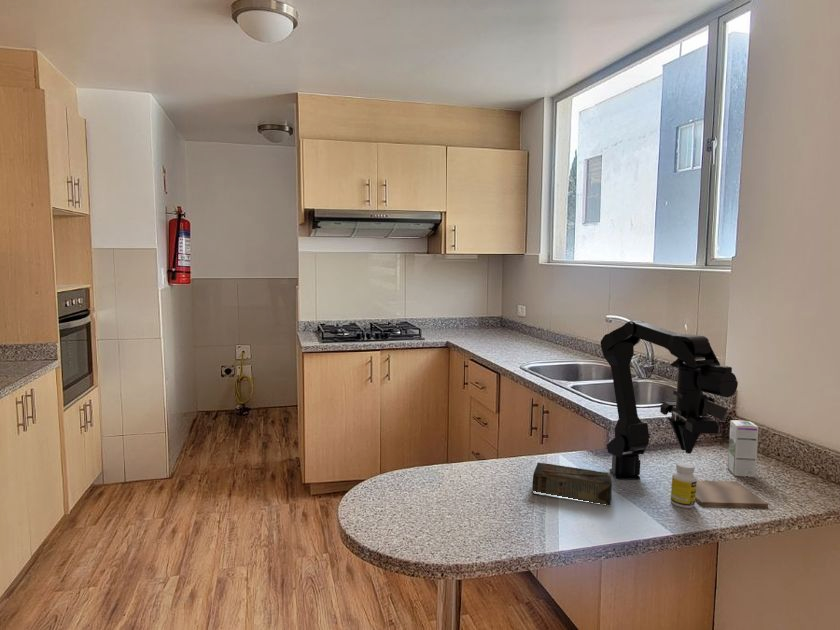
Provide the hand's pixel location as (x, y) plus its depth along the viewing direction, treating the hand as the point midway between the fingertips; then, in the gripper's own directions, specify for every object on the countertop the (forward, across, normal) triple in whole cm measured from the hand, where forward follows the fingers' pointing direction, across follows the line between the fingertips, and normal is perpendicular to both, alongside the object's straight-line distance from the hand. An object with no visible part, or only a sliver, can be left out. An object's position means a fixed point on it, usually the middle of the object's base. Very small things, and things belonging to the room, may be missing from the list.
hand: (686, 451), depth 136 cm
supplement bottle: (+13, 0, 0) cm, 13 cm away
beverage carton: (+14, +4, +26) cm, 30 cm away
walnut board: (+13, +6, -12) cm, 19 cm away
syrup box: (+13, +22, -26) cm, 36 cm away
